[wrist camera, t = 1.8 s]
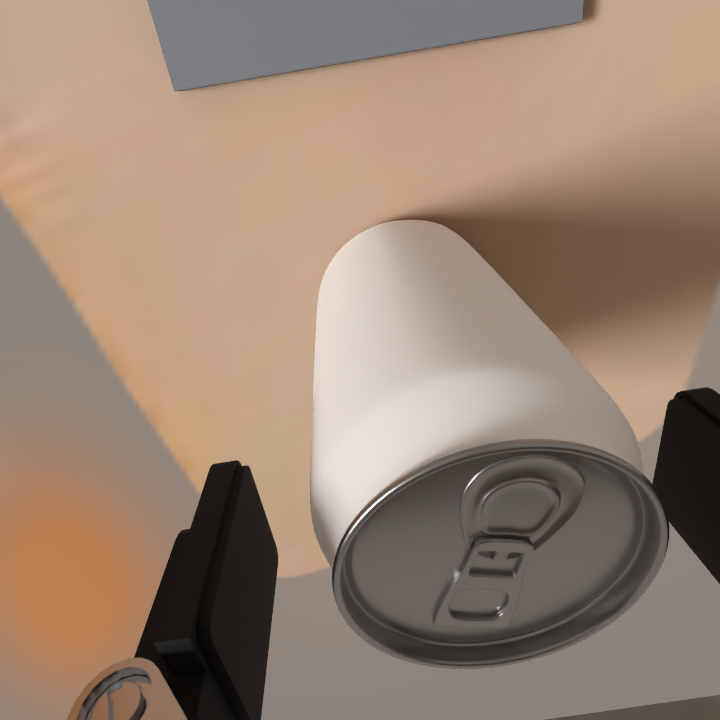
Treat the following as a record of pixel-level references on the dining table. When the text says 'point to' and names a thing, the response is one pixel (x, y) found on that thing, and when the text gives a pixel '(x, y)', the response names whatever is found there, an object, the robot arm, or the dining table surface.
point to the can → (467, 462)
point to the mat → (328, 32)
